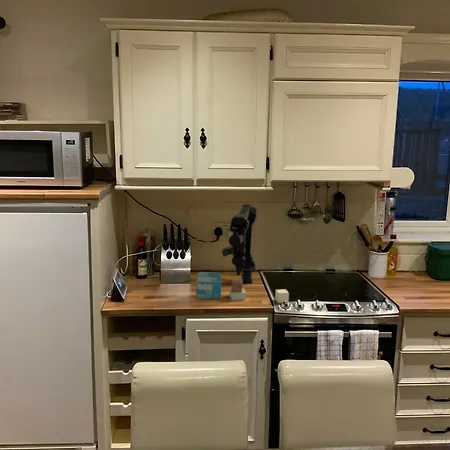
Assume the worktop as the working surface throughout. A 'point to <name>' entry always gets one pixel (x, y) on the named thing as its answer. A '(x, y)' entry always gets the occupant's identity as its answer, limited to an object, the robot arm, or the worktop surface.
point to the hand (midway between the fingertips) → (238, 272)
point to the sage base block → (237, 295)
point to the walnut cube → (237, 285)
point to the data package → (208, 285)
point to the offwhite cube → (282, 296)
